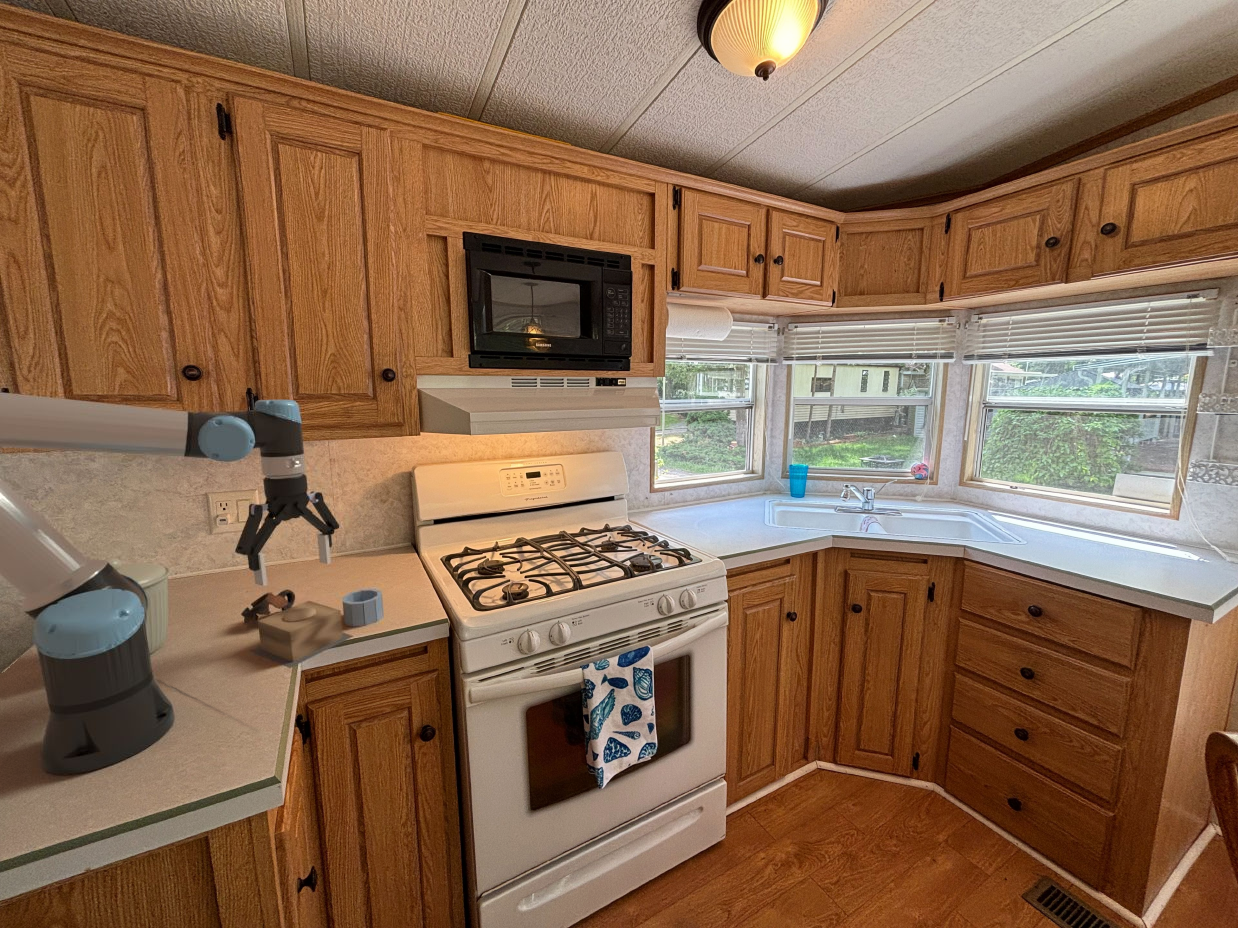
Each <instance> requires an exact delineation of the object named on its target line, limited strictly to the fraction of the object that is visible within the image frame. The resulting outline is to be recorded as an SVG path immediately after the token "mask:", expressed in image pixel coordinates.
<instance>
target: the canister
mask: <svg viewBox="0 0 1238 928" xmlns="http://www.w3.org/2000/svg"><path fill="white" fill-rule="evenodd" d="M104 560H106V561H107V562H108V563H109V564H110V565H111V566H112V567H113V568H115V569H116V570H117V571H118V572H119V573H120V574H122V575H126V576H128V577H130V578H132V579H134V580H135V581H136V582H138V583H139V584H140V585H141V586H142V588H143V589H144V591H145V593H146V594H145V595H146V596H147V599H148V609H147V621H146V631H147V640H148V647H149V653H150V655H151V654H152V653H154V652H156V651H157V650H158V649H160V648H161V647H162V646H163V644H164V642H165V640H166V639H167V636H168V621H169V619H168V618H169V612H168V611H169V598H168V597H169V591H168V590H169V582H168V581H169V579H168V577H169V576H170V575H171V573H172V569H171V568H170V567H169V566H166V565H162V564H159V563H154V562H131V563H123V562H122V561H121V560H120V559H119V558H115V557H111V558H105V559H104Z"/></svg>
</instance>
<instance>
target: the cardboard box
mask: <svg viewBox="0 0 1238 928" xmlns="http://www.w3.org/2000/svg"><path fill="white" fill-rule="evenodd" d="M341 613H342V612H341V610H340V609H338V608H334V607H331V606H328V605H324V604H320V603H318V602H314V601H311V600H306V601H304V602H301V603H299V604H297V605H293V606H292V607H291V608H289V609H286V610H284V611H282V610H281V611H279V612H277V613H274V614H272V615H269V616H266V617H264V618H261V619H259V620H257V626H258V627H257V628H258V634H259V641H260V643H259V644H260V646H261V649H262V650H264V651H267V652H269V653H272V654H274V655H277V656H279V657H282V658H284V659H287V660H290V661H292V662H294V661H296V660H298V659H300V658H303V657H305V656H307V655H309V654H311V653H313V652H315V651H317V650H319V649H321V648H323V647H325V646H327V645H329V644H331V643H333V642H335V641H337V640H339V639H341V638H343V633H344V632H343V624H342V614H341ZM342 632H343V633H342Z"/></svg>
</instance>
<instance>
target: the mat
mask: <svg viewBox="0 0 1238 928" xmlns="http://www.w3.org/2000/svg"><path fill="white" fill-rule="evenodd" d="M342 633H343V638H341V639H339V640H337V641H335V642H333V643H331V644H329V645H327V646H325V647H323V648H321V649H319V650H317V651H315V652H313V653H311V654H309V655H307V656H305V657H303V658H300V659H298V660H296V661H294V662H292V661H290V660H287V659H284V658H282V657H279V656H277V655H274V654H272V653H269V652H267V651H264V650H262V649H261V645H259V646H257V647H256V648H253V649H250V650H249V652H251V653H253V654H256V655H258V656H260V657H263V658H265V659H268V660H271V661H272V662H275V663H277V664H281V665H283V666H284V667H285V666H286V667H287V668H290V669H291V668H293V667H295V666H297V665H299V664H301V663H303V662H305V661H307V660H308V659H311V658H313V657H315V656H317V655H319V654H321V653H324V652H325V651H327V650H329V649H331V648H333V647H335V646H337V645H339V644H341V643H343V642H345V641H347V640H349V639H351V638H353V637H354V635H352V634H349V633H345V632H343V631H342Z"/></svg>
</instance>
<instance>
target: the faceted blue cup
mask: <svg viewBox="0 0 1238 928" xmlns="http://www.w3.org/2000/svg"><path fill="white" fill-rule="evenodd" d="M341 599H342V601H341V602H342V611H343V621H344V625H346V626H349V627H364V626H368V625H372V624H375V623H377V622H378V621H380V620H382V619H383V617H384V615H385V613H384V603H383V602H384V601H383V593H382V590H380V589H376V588H362V589H359V590H354V591H351V592H349V593H347V594H345V595H344V596H343V597H342V598H341Z"/></svg>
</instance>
